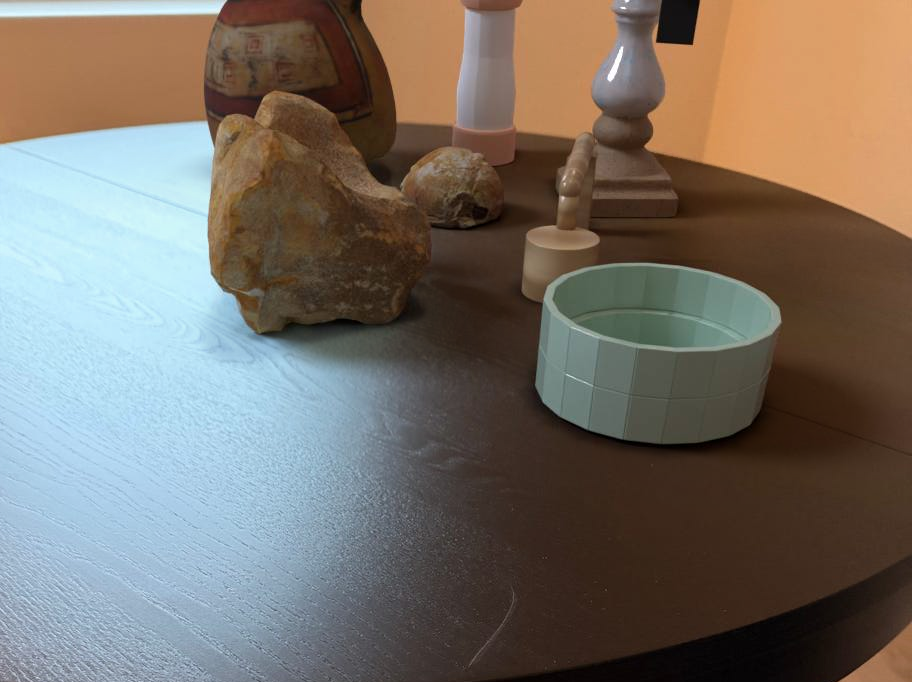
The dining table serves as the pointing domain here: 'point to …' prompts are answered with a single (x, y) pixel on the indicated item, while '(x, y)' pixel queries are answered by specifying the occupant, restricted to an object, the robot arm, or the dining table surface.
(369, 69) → the reddish ceramic vase
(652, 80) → the candle holder
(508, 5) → the pepper shaker
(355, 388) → the dining table surface
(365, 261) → the rough brown rock
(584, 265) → the hooked weight
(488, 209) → the bread roll
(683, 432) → the mixing bowl
